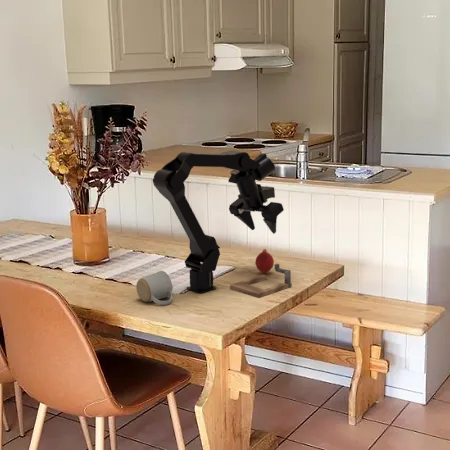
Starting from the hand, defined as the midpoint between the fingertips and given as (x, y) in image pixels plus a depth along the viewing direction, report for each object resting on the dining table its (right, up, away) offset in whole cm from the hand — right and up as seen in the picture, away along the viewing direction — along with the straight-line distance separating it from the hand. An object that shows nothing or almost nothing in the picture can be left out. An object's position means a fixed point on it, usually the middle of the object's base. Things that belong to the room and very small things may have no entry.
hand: (264, 231), depth 221 cm
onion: (0, -14, +2) cm, 14 cm away
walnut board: (-2, -17, -12) cm, 20 cm away
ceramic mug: (-31, -20, -20) cm, 42 cm away
